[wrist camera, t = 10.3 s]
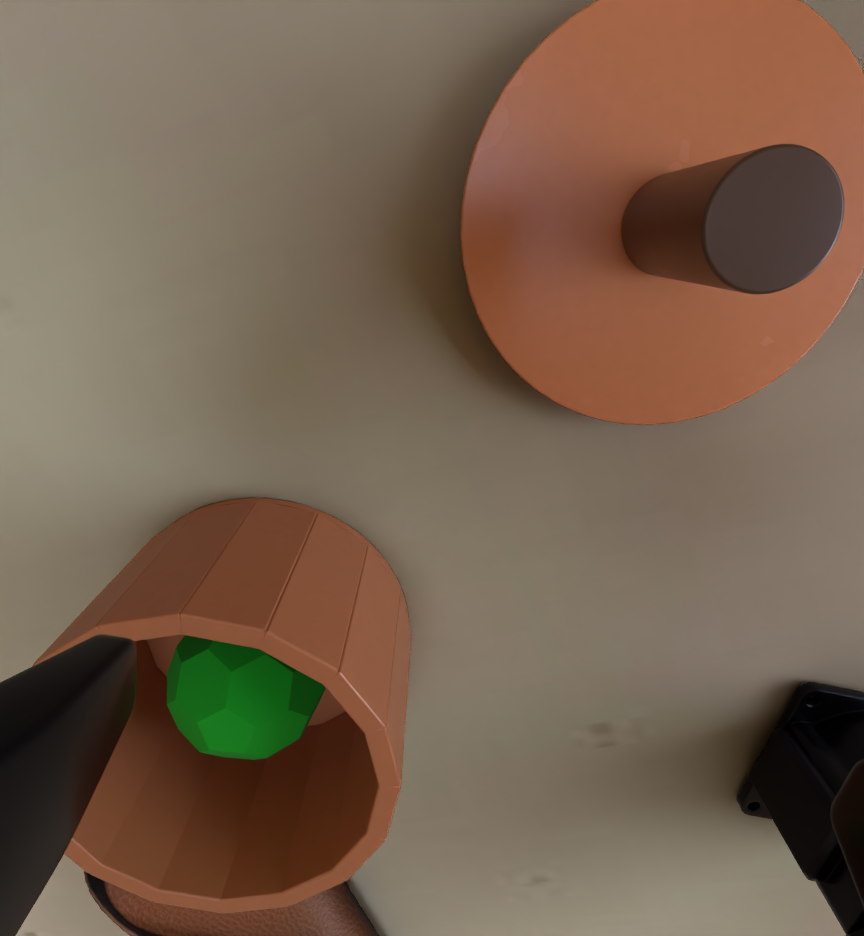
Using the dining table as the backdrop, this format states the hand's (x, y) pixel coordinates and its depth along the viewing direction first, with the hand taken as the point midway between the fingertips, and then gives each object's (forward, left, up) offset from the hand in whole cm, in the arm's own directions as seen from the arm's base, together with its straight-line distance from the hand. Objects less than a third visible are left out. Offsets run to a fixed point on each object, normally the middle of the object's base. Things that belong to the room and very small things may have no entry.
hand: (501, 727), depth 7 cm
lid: (-4, -7, -12) cm, 15 cm away
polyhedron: (+5, +9, -13) cm, 16 cm away
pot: (+5, +9, -13) cm, 17 cm away
